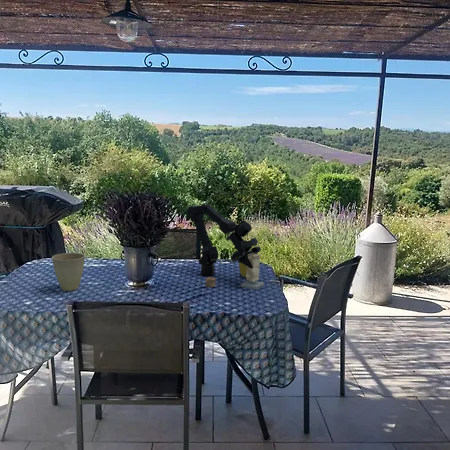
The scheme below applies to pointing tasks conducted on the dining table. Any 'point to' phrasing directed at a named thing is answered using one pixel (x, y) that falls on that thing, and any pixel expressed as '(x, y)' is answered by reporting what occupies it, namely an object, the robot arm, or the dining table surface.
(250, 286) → the slate plinth
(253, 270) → the beech pillar
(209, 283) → the walnut cube
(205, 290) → the dining table surface
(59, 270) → the plant pot
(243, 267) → the flower pot
